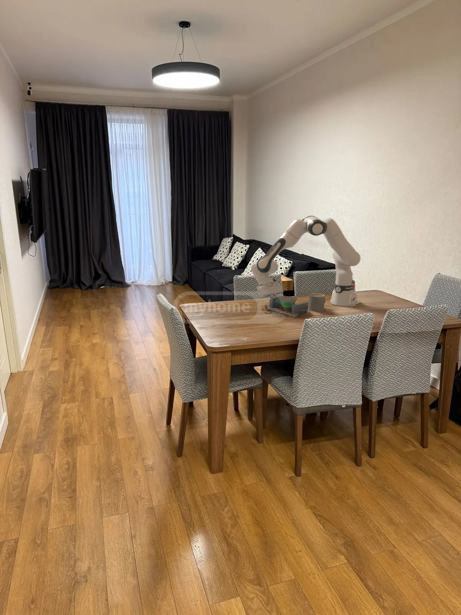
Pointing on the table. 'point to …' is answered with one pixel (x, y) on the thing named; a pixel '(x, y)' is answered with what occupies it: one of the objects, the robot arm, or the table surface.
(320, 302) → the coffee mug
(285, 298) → the food container
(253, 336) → the table surface
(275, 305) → the vise free jaw
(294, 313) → the vise
